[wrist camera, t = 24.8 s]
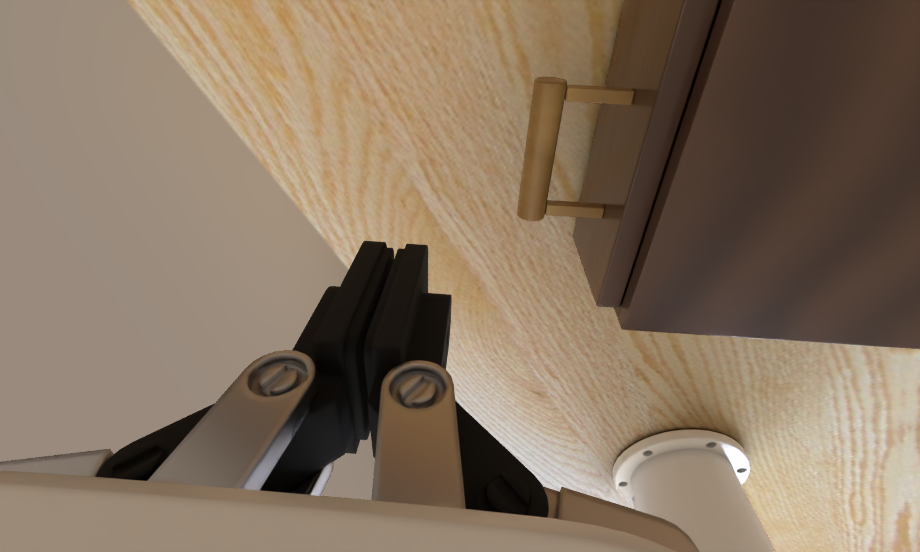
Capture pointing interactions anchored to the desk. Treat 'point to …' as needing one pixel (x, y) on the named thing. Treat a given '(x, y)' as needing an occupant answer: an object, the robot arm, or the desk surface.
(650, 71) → the drawer
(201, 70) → the desk surface
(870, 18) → the cabinet
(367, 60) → the desk surface
